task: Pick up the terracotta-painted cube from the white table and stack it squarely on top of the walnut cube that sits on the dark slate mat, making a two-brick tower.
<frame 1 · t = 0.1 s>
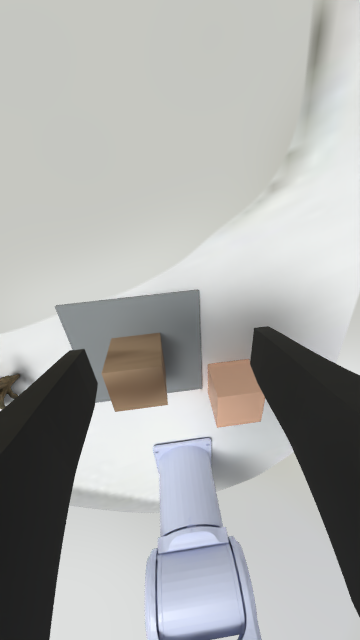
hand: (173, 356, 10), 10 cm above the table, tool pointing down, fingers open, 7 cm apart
terracotta block: (227, 376, 25), on the table
walnut block: (140, 354, 22), resting on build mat
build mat: (140, 352, 22), on the table
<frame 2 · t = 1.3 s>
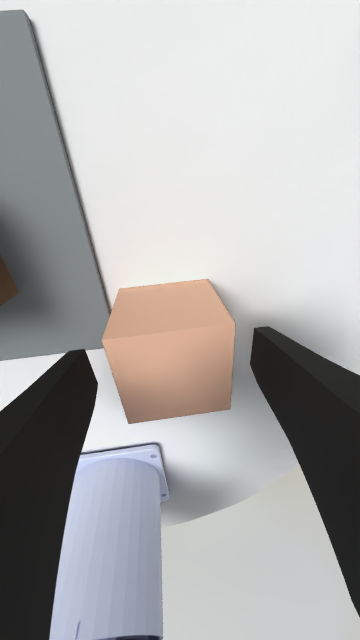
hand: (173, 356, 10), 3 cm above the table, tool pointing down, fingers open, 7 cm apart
terracotta block: (168, 320, 12), on the table
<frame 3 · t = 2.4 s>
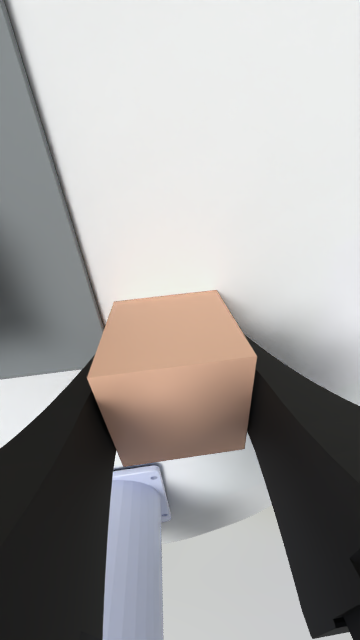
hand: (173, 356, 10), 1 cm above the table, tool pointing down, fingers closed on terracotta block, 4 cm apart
terracotta block: (170, 337, 11), on the table, touching gripper
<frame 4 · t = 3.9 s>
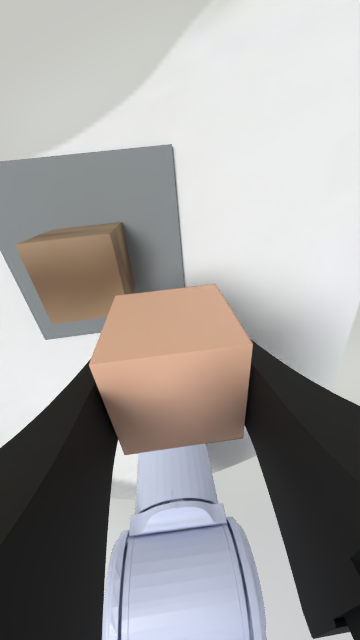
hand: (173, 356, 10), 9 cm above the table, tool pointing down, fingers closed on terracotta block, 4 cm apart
terracotta block: (171, 331, 11), point 7 cm above the table, touching gripper
walnut block: (96, 259, 16), resting on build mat
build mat: (97, 258, 16), on the table
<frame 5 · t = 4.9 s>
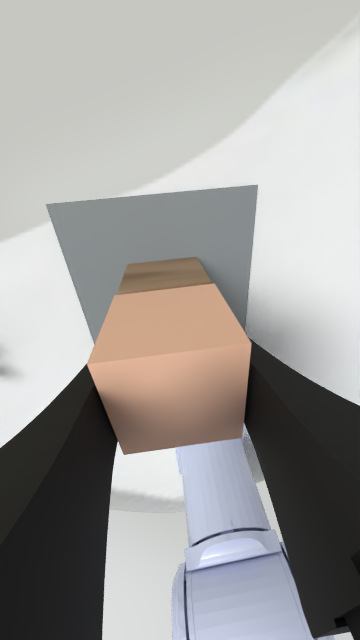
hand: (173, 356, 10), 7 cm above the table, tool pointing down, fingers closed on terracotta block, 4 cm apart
terracotta block: (170, 331, 11), point 6 cm above the table, touching gripper
walnut block: (165, 291, 16), resting on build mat
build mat: (165, 290, 16), on the table
when the fingers open (7 cm above the table, at t = 5.4 s): terracotta block stays where it is, resting on walnut block.
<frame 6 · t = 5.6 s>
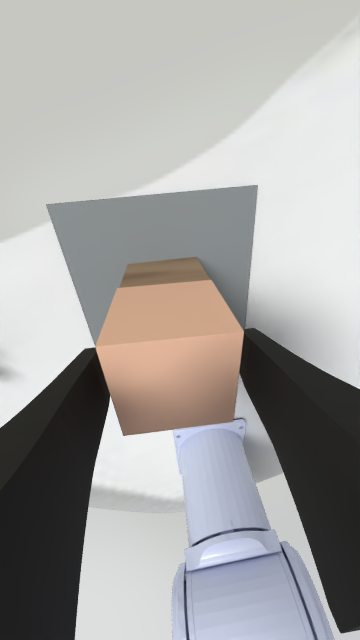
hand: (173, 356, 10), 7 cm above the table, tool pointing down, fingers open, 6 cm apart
terracotta block: (168, 323, 12), point 5 cm above the table, touching walnut block
walnut block: (165, 292, 16), resting on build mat, touching terracotta block
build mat: (165, 290, 16), on the table
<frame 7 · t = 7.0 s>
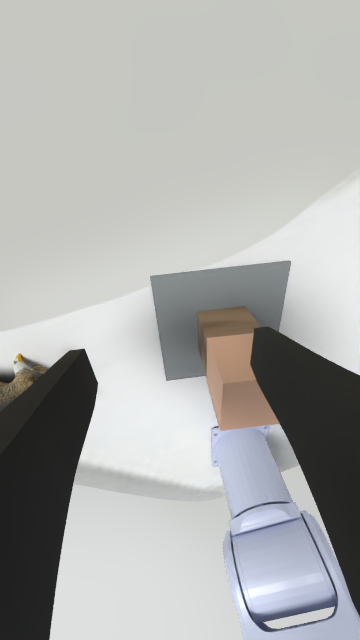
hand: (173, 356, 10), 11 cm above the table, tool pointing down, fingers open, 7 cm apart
eagle figurine: (30, 368, 23), on the table
terracotta block: (234, 358, 18), point 5 cm above the table, touching walnut block
walnut block: (220, 328, 22), resting on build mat, touching terracotta block
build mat: (219, 327, 22), on the table
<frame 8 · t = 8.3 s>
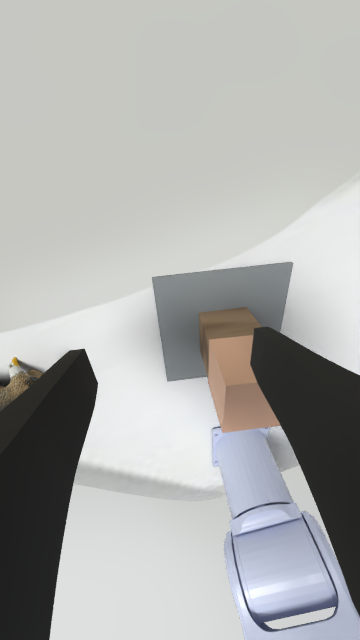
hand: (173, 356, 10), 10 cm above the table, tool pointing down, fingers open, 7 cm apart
eagle figurine: (26, 372, 23), on the table
terracotta block: (236, 359, 18), point 5 cm above the table, touching walnut block
walnut block: (222, 330, 22), resting on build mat, touching terracotta block
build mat: (221, 328, 22), on the table
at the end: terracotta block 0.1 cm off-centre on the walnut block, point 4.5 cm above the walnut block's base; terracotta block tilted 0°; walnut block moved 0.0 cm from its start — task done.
